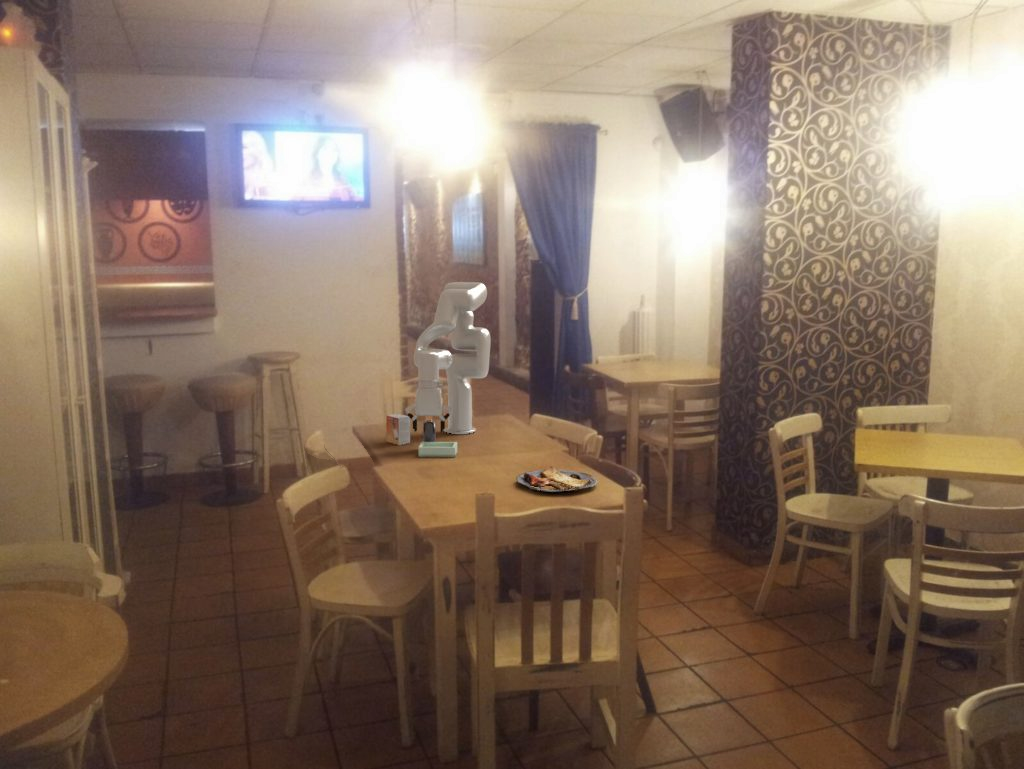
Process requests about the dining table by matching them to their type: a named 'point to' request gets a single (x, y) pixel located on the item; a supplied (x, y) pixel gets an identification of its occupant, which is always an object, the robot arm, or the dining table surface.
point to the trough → (437, 449)
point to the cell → (429, 431)
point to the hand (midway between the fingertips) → (428, 431)
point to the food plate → (556, 479)
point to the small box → (397, 429)
